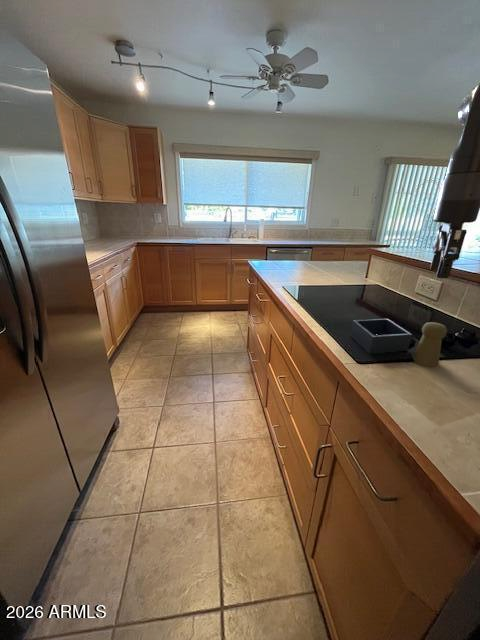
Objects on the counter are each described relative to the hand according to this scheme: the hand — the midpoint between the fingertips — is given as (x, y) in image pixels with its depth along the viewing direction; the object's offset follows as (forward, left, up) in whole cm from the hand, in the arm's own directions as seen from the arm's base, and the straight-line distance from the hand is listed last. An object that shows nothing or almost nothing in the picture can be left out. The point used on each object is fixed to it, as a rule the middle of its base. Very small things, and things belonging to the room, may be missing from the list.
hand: (438, 273), depth 62 cm
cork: (-3, +1, -24) cm, 25 cm away
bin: (+4, -10, -24) cm, 27 cm away
